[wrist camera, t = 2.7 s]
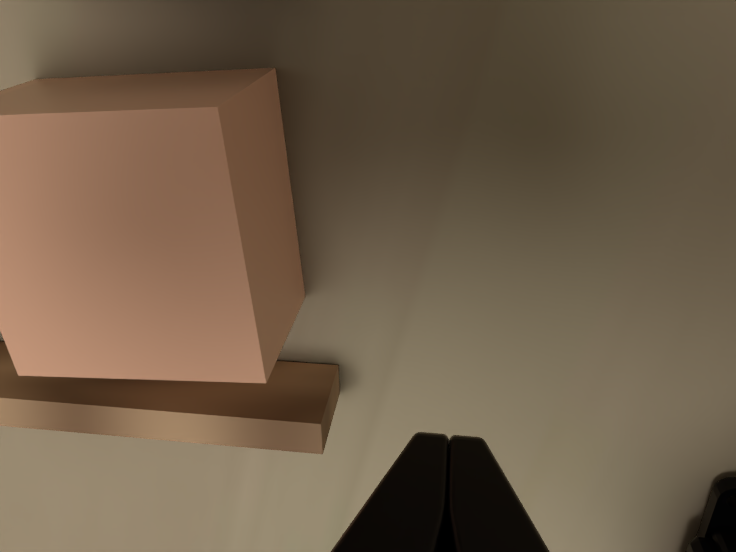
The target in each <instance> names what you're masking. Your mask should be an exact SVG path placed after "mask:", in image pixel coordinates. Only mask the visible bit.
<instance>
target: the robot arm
mask: <svg viewBox="0 0 736 552" xmlns="http://www.w3.org/2000/svg"><path fill="white" fill-rule="evenodd" d="M732 495H736V477H730V478H725V479H722V480H720V481H719V482H717V483H716V484H715V485H714V487H713V489H712V492H711V495H710V498H709V501H708V504H707V507H706V510H705V513H704V516H703V519H702V522H701V525H700V528H699V531H698V534H697V537H696V536H695V537H694V538H693V539H692V541H691V542H690V543H689V544H688V547H687V550H686V552H736V496H732ZM730 496H731V497H730ZM331 552H549V550H548V548H547V546H546V545H545V543H544V541H543V540H542V538H541V536H540V534H539V533H538V531H537V529H536V528H535V526H534V524H533V522H532V521H531V519H530V517H529V516H528V514H527V512H526V510H525V509H524V507H523V505H522V504H521V502H520V500H519V498H518V497H517V495H516V493H515V492H514V490H513V488H512V486H511V485H510V483H509V481H508V480H507V478H506V476H505V474H504V473H503V471H502V469H501V468H500V466H499V464H498V462H497V461H496V459H495V457H494V456H493V454H492V452H491V450H490V449H489V447H488V445H487V444H486V442H485V441H484V440H483V439H482V438H480V437H472V436H460V435H453V436H452V437H451V438H450V440H449V439H448V437H447V436H446V435H445V434H437V433H425V432H418V433H416V434H415V435H414V436H413V437H412V438H411V440H410V441H409V443H408V444H407V445H406V447H405V448H404V450H403V451H402V452H401V454H400V455H399V457H398V458H397V459H396V461H395V462H394V464H393V465H392V466H391V468H390V469H389V471H388V472H387V473H386V475H385V476H384V478H383V479H382V480H381V482H380V483H379V485H378V486H377V487H376V489H375V490H374V492H373V493H372V494H371V496H370V497H369V499H368V500H367V502H366V503H365V504H364V506H363V507H362V509H361V510H360V511H359V513H358V514H357V516H356V517H355V518H354V520H353V521H352V523H351V524H350V525H349V527H348V528H347V530H346V531H345V532H344V534H343V535H342V537H341V538H340V539H339V541H338V542H337V544H336V545H335V546H334V548H333V549H332V551H331Z"/></svg>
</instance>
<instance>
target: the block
mask: <svg viewBox="0 0 736 552" xmlns="http://www.w3.org/2000/svg"><path fill="white" fill-rule="evenodd" d="M304 299H305V290H304V283H303V275H302V267H301V260H300V252H299V244H298V237H297V229H296V222H295V214H294V206H293V199H292V191H291V183H290V176H289V168H288V160H287V153H286V145H285V137H284V130H283V122H282V115H281V107H280V99H279V92H278V84H277V76H276V69H275V68H256V69H235V70H214V71H193V72H173V73H152V74H131V75H110V76H89V77H69V78H48V79H34V80H31V81H28V82H25V83H22V84H19V85H16V86H13V87H10V88H7V89H4V90H1V91H0V331H1V334H2V336H3V339H4V341H5V344H6V346H7V349H8V351H9V354H10V356H11V359H12V361H13V364H14V366H15V369H16V371H17V374H18V376H47V377H79V378H111V379H143V380H175V381H207V382H239V383H267V381H268V378H269V376H270V374H271V372H272V370H273V367H274V365H275V363H276V361H277V358H278V356H279V354H280V352H281V350H282V347H283V345H284V343H285V341H286V339H287V336H288V334H289V332H290V330H291V327H292V325H293V323H294V321H295V319H296V316H297V314H298V312H299V310H300V307H301V305H302V303H303V301H304Z"/></svg>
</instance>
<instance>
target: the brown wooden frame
mask: <svg viewBox="0 0 736 552" xmlns="http://www.w3.org/2000/svg"><path fill="white" fill-rule="evenodd" d="M339 393H340V391H339V368H338V365H328V364H314V363H300V362H286V361H276V363H275V365H274V367H273V370H272V372H271V374H270V376H269V378H268V381H267V383H239V382H207V381H175V380H143V379H111V378H79V377H47V376H18V374H17V371H16V369H15V366H14V364H13V361H12V359H11V356H10V354H9V351H8V349H7V346H6V344H5V342H1V341H0V426H11V427H22V428H33V429H45V430H56V431H67V432H78V433H90V434H101V435H112V436H124V437H135V438H146V439H158V440H169V441H180V442H192V443H203V444H214V445H225V446H237V447H248V448H259V449H271V450H282V451H293V452H305V453H316V454H323V451H324V448H325V444H326V440H327V437H328V433H329V430H330V426H331V422H332V419H333V415H334V411H335V408H336V404H337V401H338V397H339Z"/></svg>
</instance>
